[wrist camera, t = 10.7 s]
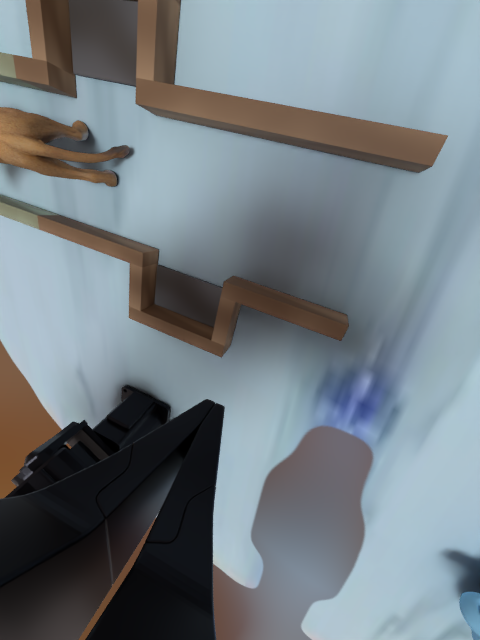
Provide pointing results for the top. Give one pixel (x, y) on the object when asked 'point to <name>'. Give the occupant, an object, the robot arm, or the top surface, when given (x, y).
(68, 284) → the top surface
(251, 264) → the top surface
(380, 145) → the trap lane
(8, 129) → the lion figurine
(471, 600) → the decorative pot
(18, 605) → the robot arm
